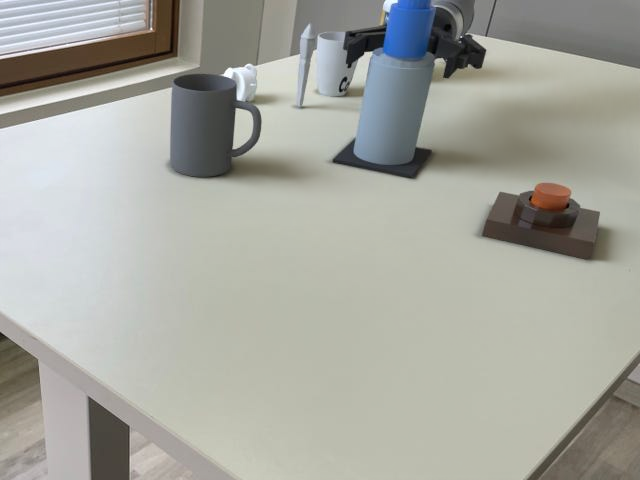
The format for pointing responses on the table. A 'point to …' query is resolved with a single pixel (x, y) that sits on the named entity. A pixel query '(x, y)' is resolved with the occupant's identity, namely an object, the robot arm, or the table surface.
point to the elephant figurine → (244, 81)
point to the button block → (542, 225)
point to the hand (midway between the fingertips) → (397, 60)
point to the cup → (333, 64)
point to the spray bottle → (397, 86)
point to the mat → (401, 170)
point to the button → (551, 196)
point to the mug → (206, 124)
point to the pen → (305, 61)
